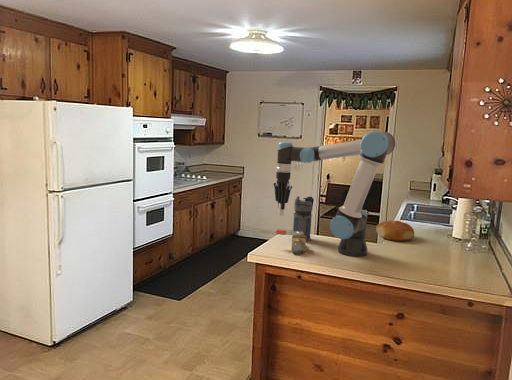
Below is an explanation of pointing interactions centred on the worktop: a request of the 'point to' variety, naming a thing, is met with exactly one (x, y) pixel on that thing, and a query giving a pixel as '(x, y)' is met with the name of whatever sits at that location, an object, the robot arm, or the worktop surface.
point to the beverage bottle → (303, 215)
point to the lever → (289, 232)
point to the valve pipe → (298, 244)
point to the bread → (395, 231)
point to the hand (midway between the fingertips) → (280, 215)
